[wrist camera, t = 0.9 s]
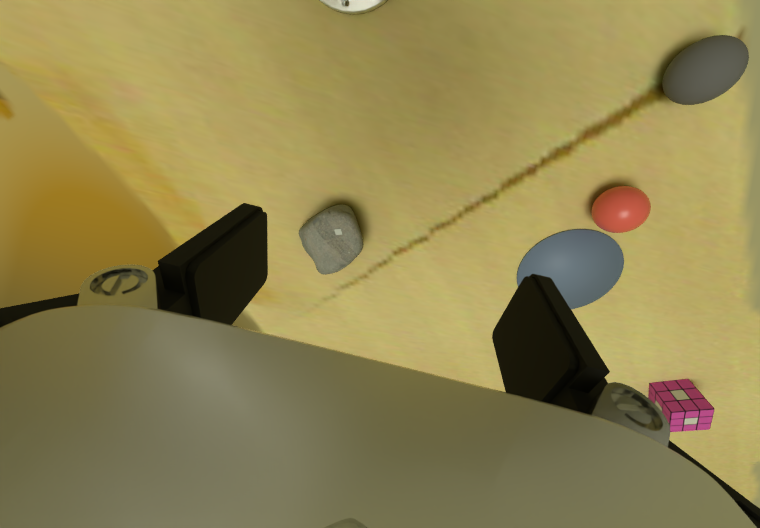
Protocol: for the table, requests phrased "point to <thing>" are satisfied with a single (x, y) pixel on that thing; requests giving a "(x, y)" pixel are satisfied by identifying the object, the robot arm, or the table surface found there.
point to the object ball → (621, 209)
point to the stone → (332, 238)
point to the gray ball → (705, 70)
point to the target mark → (576, 264)
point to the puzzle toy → (682, 405)
